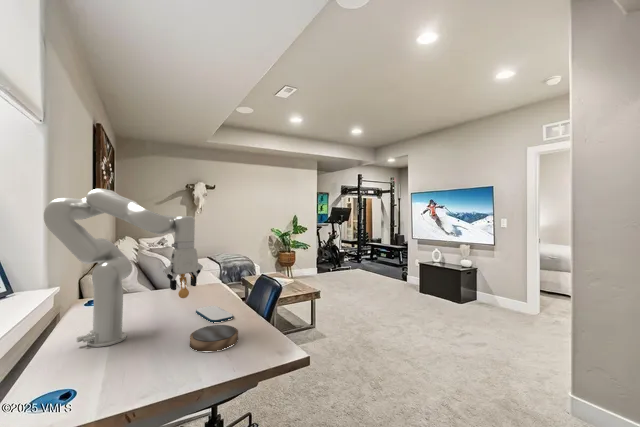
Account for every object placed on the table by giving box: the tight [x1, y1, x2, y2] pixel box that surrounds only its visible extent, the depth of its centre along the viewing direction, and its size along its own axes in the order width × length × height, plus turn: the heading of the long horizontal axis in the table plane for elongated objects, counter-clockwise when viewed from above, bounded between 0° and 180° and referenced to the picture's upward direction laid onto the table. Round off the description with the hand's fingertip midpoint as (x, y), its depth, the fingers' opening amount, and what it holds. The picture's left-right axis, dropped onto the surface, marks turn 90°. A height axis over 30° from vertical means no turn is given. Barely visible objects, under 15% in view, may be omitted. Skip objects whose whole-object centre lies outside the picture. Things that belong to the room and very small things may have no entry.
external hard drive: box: [195, 305, 234, 324], centre depth 149 cm, size 24×12×2 cm, turn 43°
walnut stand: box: [189, 324, 239, 352], centre depth 117 cm, size 18×18×4 cm
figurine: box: [177, 273, 193, 299], centre depth 123 cm, size 8×6×12 cm
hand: (183, 287), depth 123 cm, fingers closed on figurine, 8 cm apart
